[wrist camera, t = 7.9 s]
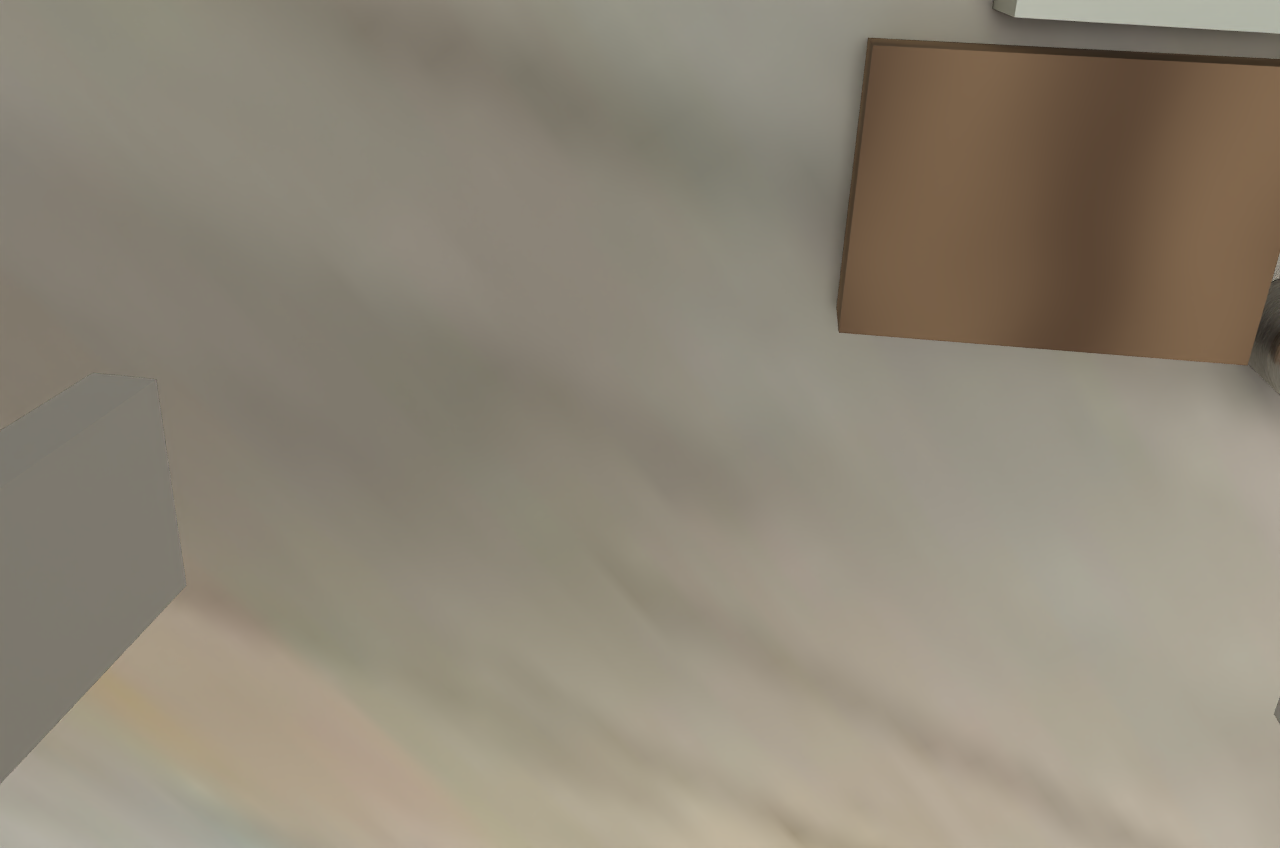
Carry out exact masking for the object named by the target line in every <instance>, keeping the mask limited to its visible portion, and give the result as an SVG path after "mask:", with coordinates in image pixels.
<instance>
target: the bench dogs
mask: <svg viewBox="0 0 1280 848" xmlns="http://www.w3.org/2000/svg"><path fill="white" fill-rule="evenodd" d="M1248 365H1249V366H1250V367H1251V368H1252V369H1253V370H1254V371H1255V372H1257V373H1258V374H1259V375H1260V376H1261V377H1262V378H1263V379H1264V380H1265V381H1266V382H1267V383H1268V384H1269V385H1270V386H1271V387H1272V388H1273V389H1274V390H1275V391H1276V392H1277V393H1278V394H1279V395H1280V279H1278V280H1276V281H1273V282H1271V285H1270V288H1269V292H1268V295H1267V299H1266V302H1265V306H1264V309H1263V313H1262V316H1261V320H1260V323H1259V327H1258V330H1257V334H1256V337H1255V341H1254V344H1253V348H1252V351H1251V355H1250V358H1249V362H1248Z"/></svg>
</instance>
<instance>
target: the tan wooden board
mask: <svg viewBox="0 0 1280 848" xmlns="http://www.w3.org/2000/svg"><path fill="white" fill-rule="evenodd" d="M1279 253H1280V59H1266V58H1246V57H1227V56H1208V55H1189V54H1169V53H1150V52H1131V51H1112V50H1093V49H1073V48H1054V47H1035V46H1016V45H996V44H977V43H958V42H939V41H920V40H900V39H881V38H868V44H867V52H866V61H865V69H864V78H863V86H862V95H861V103H860V112H859V120H858V129H857V137H856V146H855V154H854V163H853V171H852V180H851V188H850V197H849V205H848V214H847V222H846V231H845V239H844V248H843V256H842V265H841V273H840V282H839V290H838V299H837V307H836V308H837V319H838V330H839V333H851V334H863V335H876V336H888V337H901V338H913V339H926V340H938V341H950V342H963V343H975V344H988V345H1000V346H1013V347H1025V348H1038V349H1050V350H1062V351H1075V352H1087V353H1100V354H1112V355H1125V356H1137V357H1150V358H1162V359H1175V360H1187V361H1199V362H1212V363H1224V364H1237V365H1248V362H1249V358H1250V355H1251V351H1252V348H1253V344H1254V341H1255V337H1256V334H1257V330H1258V327H1259V323H1260V320H1261V316H1262V313H1263V309H1264V306H1265V302H1266V299H1267V295H1268V292H1269V288H1270V285H1271V281H1272V278H1273V274H1274V271H1275V267H1276V264H1277V260H1278V257H1279Z"/></svg>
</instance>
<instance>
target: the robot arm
mask: <svg viewBox="0 0 1280 848" xmlns="http://www.w3.org/2000/svg"><path fill="white" fill-rule="evenodd" d="M185 586H186V579H185V572H184V565H183V558H182V551H181V545H180V538H179V531H178V524H177V517H176V510H175V504H174V497H173V490H172V483H171V476H170V469H169V462H168V456H167V449H166V442H165V435H164V428H163V421H162V415H161V408H160V401H159V394H158V387H157V380H156V379H151V378H140V377H130V376H120V375H110V374H100V373H92V374H90V375H88V376H87V377H85V378H84V379H82V380H80V381H79V382H77V383H76V384H74V385H72V386H71V387H69V388H68V389H66V390H64V391H63V392H61V393H60V394H58V395H56V396H55V397H53V398H52V399H50V400H48V401H47V402H45V403H44V404H42V405H40V406H39V407H37V408H36V409H34V410H32V411H31V412H29V413H28V414H26V415H24V416H23V417H21V418H20V419H18V420H16V421H15V422H13V423H12V424H10V425H8V426H7V427H5V428H4V429H2V430H0V784H1V783H2V782H3V781H4V779H5V778H6V777H7V776H8V775H9V774H10V773H11V772H12V771H13V770H14V769H15V768H16V767H17V766H18V765H19V763H20V762H21V761H22V760H23V759H24V758H25V757H26V756H27V755H28V754H29V753H30V752H31V751H32V750H33V749H34V747H35V746H36V745H37V744H38V743H39V742H40V741H41V740H42V739H43V738H44V737H45V736H46V735H47V734H48V733H49V731H50V730H51V729H52V728H53V727H54V726H55V725H56V724H57V723H58V722H59V721H60V720H61V719H62V718H63V717H64V715H65V714H66V713H67V712H68V711H69V710H70V709H71V708H72V707H73V706H74V705H75V704H76V703H77V702H78V701H79V699H80V698H81V697H82V696H83V695H84V694H85V693H86V692H87V691H88V690H89V689H90V688H91V687H92V686H93V685H94V683H95V682H96V681H97V680H98V679H99V678H100V677H101V676H102V675H103V674H104V673H105V672H106V671H107V670H108V669H109V667H110V666H111V665H112V664H113V663H114V662H115V661H116V660H117V659H118V658H119V657H120V656H121V655H122V654H123V653H124V651H125V650H126V649H127V648H128V647H129V646H130V645H131V644H132V643H133V642H134V641H135V640H136V639H137V638H138V637H139V635H140V634H141V633H142V632H143V631H144V630H145V629H146V628H147V627H148V626H149V625H150V624H151V623H152V622H153V621H154V619H155V618H156V617H157V616H158V615H159V614H160V613H161V612H162V611H163V610H164V609H165V608H166V607H167V606H168V605H169V603H170V602H171V601H172V600H173V599H174V598H175V597H176V596H177V595H178V594H179V593H180V592H181V591H182V590H183V589H184V588H185ZM1274 715H1275V717H1276V718H1277V720H1278V722H1279V723H1280V698H1279V701H1278V704H1277V707H1276V709H1275V712H1274Z"/></svg>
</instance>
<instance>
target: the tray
mask: <svg viewBox="0 0 1280 848" xmlns="http://www.w3.org/2000/svg"><path fill="white" fill-rule="evenodd" d="M993 9H995V10H998V11H1000V12H1002V13H1005V14H1007V15H1010V16H1012V17H1017V18H1033V19H1050V20H1066V21H1082V22H1099V23H1115V24H1131V25H1148V26H1164V27H1180V28H1197V29H1213V30H1229V31H1246V32H1262V33H1278V34H1280V0H994V2H993Z"/></svg>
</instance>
